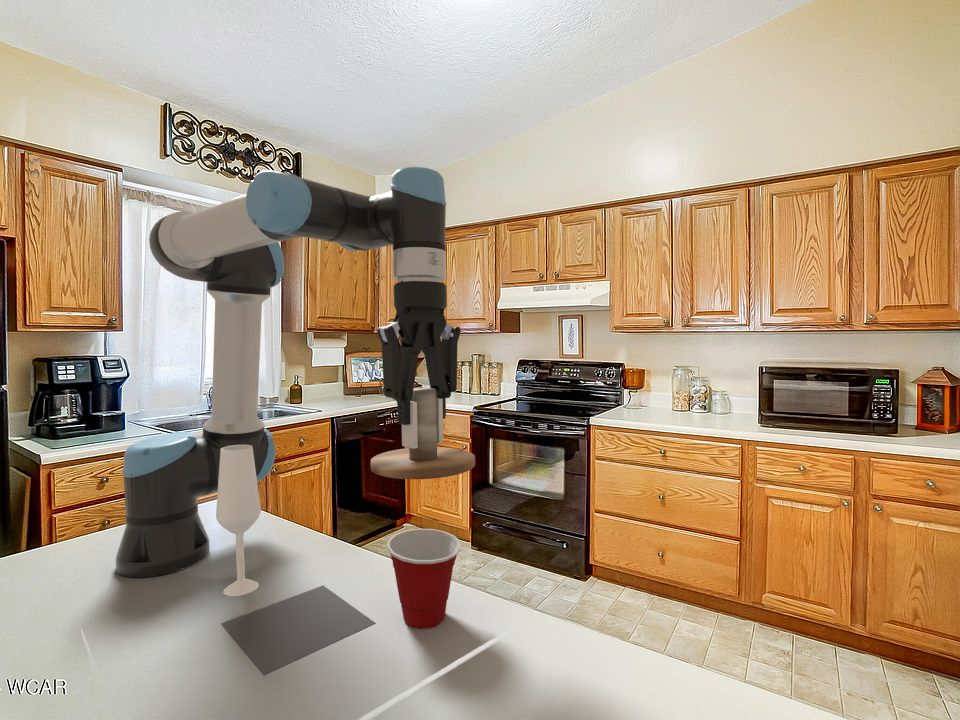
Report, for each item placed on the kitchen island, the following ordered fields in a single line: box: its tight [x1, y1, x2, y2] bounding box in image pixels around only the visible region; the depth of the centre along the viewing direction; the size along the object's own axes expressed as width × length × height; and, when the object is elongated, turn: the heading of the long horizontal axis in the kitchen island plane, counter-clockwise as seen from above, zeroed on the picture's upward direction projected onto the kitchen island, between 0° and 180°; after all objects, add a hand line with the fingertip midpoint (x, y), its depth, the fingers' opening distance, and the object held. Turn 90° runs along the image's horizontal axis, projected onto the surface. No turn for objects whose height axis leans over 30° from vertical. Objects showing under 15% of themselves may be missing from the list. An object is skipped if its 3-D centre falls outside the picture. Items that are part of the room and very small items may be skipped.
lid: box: [370, 387, 476, 480], centre depth 74 cm, size 15×15×11 cm
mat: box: [220, 585, 377, 676], centre depth 74 cm, size 16×16×1 cm
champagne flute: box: [215, 445, 262, 597], centre depth 84 cm, size 7×7×24 cm
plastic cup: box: [386, 528, 462, 630], centre depth 75 cm, size 11×11×12 cm
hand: (422, 444), depth 74 cm, fingers closed on lid, 4 cm apart
